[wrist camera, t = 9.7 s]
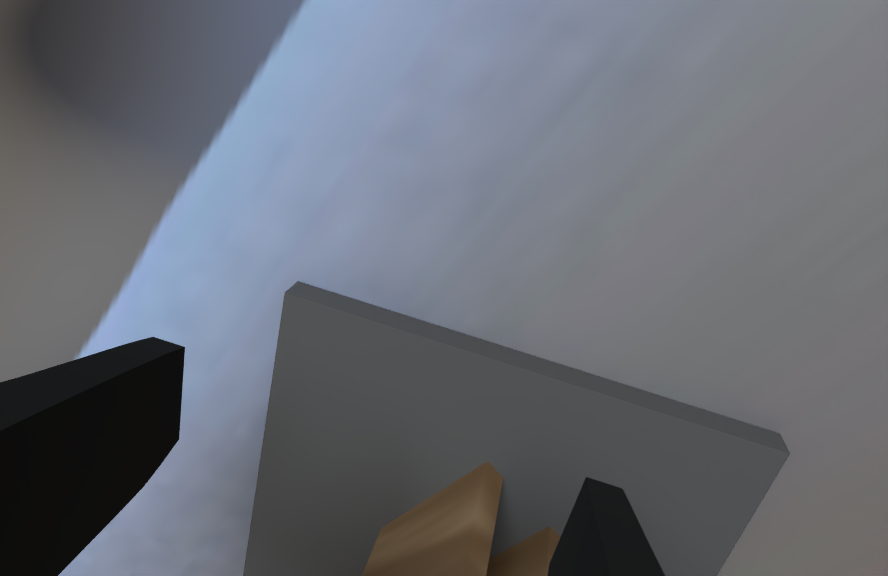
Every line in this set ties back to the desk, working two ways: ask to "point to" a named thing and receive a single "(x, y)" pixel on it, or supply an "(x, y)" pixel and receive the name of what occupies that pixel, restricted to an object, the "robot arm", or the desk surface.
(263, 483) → the charcoal mat
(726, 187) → the desk surface
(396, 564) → the oak stool
